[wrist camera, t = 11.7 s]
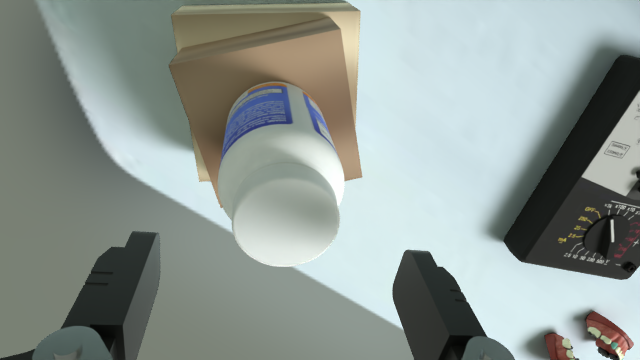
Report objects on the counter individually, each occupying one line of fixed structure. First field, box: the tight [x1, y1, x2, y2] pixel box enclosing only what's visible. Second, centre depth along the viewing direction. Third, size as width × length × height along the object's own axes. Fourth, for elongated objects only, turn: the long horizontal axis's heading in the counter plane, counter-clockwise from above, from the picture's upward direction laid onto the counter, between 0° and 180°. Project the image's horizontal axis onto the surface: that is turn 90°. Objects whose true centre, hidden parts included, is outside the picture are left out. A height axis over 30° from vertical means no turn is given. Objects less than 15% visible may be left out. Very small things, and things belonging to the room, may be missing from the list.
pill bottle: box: [218, 82, 344, 267], centre depth 19 cm, size 5×5×10 cm
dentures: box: [545, 312, 634, 360], centre depth 48 cm, size 6×5×9 cm
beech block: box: [171, 3, 360, 182], centre depth 29 cm, size 11×11×4 cm
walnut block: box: [169, 17, 362, 208], centre depth 25 cm, size 9×9×4 cm
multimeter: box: [504, 55, 640, 280], centre depth 37 cm, size 13×19×5 cm
